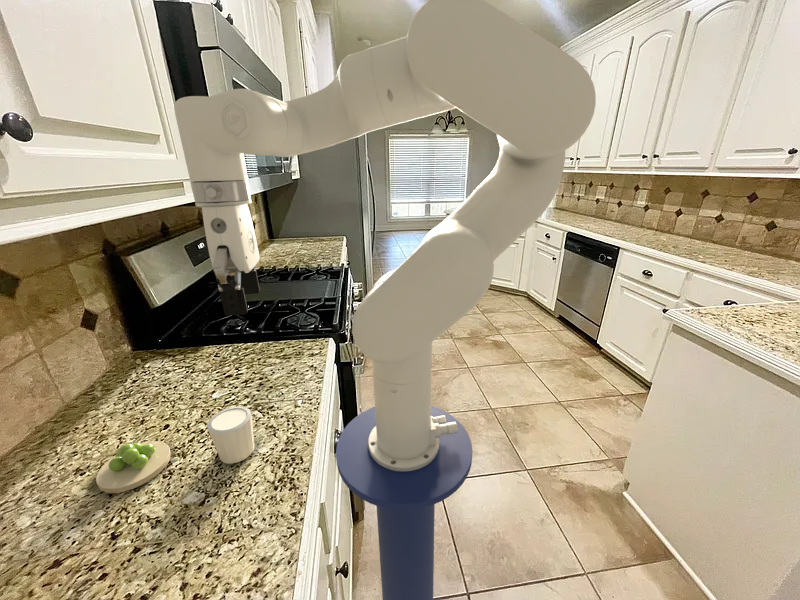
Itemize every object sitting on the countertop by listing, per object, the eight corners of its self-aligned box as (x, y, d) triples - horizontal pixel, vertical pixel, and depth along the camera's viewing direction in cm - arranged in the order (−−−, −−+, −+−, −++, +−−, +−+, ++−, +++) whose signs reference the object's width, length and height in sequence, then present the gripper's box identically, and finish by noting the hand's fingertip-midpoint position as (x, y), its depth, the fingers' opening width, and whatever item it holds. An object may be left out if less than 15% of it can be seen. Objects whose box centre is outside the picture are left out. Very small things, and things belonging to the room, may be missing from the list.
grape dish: (180, 441, 63) (173, 419, 61) (155, 486, 54) (146, 462, 52) (119, 450, 61) (110, 427, 60) (82, 499, 52) (70, 474, 50)
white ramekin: (248, 466, 57) (241, 432, 55) (207, 467, 57) (198, 433, 55) (263, 436, 64) (257, 405, 61) (227, 437, 64) (219, 406, 61)
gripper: (234, 197, 43) (258, 321, 49) (260, 191, 59) (275, 285, 65) (169, 199, 42) (201, 327, 48) (213, 192, 58) (233, 289, 64)
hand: (244, 303), depth 56 cm, fingers open, 9 cm apart
